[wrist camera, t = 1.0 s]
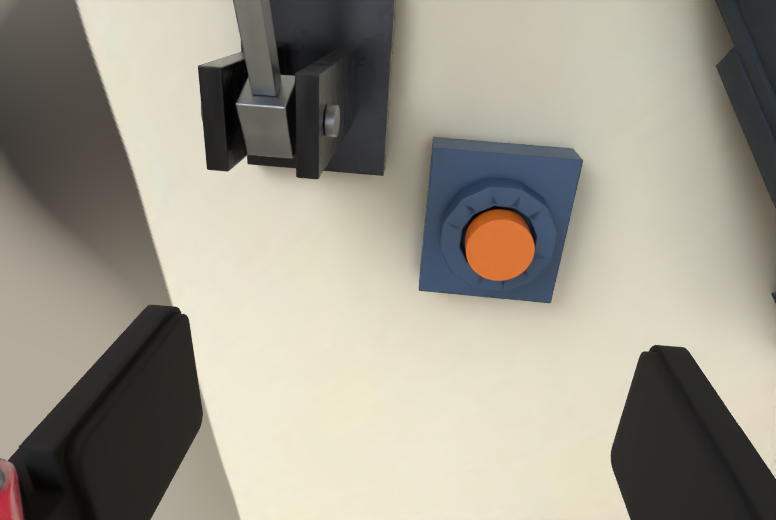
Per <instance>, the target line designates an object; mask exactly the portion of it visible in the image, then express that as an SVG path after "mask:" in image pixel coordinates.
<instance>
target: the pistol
mask: <svg viewBox="0 0 776 520" xmlns="http://www.w3.org/2000/svg"><path fill="white" fill-rule="evenodd" d="M716 3H717V5H718V7H719V10H720V12H721V14H722V17H723V19H724V21H725V24H726V26H727V28H728V31H729V33H730V36H731V38H732V40H733V43H734V45H735V48H733V49H731V50H730V51H729V53H728V54H727V55H726V56H725V57H724V58H723V59H722V60H721V61H720V62H719V63H718V64H717V65H716V68H717V70H718V72H719V75H720V77H721V80H722V82H723V84H724V87H725V89H726V92H727V94H728V96H729V99H730V101H731V103H732V106H733V108H734V111H735V113H736V115H737V118H738V120H739V122H740V125H741V127H742V130H743V132H744V134H745V137H746V139H747V141H748V144H749V146H750V149H751V151H752V153H753V156H754V158H755V161H756V163H757V165H758V168H759V170H760V172H761V175H762V177H763V180H764V182H765V184H766V187H767V189H768V191H769V194H770V196H771V199H772V201H773V203H774V206H775V208H776V0H716ZM772 296H773V298H774V301H775V303H776V292H775V293H772Z"/></svg>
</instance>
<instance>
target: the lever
mask: <svg viewBox="0 0 776 520" xmlns="http://www.w3.org/2000/svg"><path fill="white" fill-rule="evenodd" d="M233 3H234V8H235V13H236V18H237V23H238V28H239V32H240V37H241V42H242V47H243V52H244V57H245V62H246V67H247V72H248V77H247V80H246V82H245V84H244V86H243V88H242V90H241V93H240V95H239V97H238V99H237V101H236V104H235V105H236V109H237V113H238V118H239V122H240V126H241V131H242V135H243V139H244V143H245V148H246V152H247V154H248V155H258V156H270V157H281V158H294V155H295V152H296V118H295V76H290V75H280V68H279V61H278V55H277V48H276V41H275V35H274V28H273V21H272V15H271V8H270V1H269V0H233Z"/></svg>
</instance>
